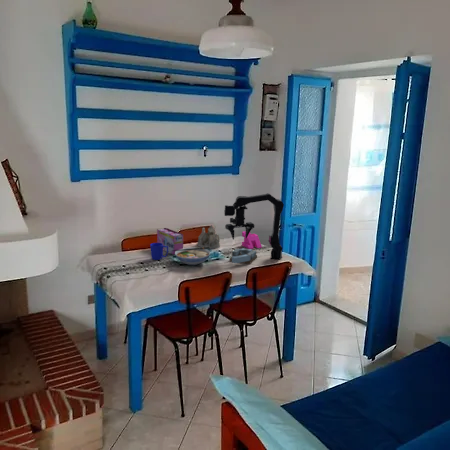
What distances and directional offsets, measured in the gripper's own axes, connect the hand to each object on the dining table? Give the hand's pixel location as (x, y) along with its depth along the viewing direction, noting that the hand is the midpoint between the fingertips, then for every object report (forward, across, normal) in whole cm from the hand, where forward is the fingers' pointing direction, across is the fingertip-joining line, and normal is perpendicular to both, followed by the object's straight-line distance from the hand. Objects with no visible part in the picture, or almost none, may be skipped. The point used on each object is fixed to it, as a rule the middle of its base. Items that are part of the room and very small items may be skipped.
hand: (239, 238), depth 298 cm
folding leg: (+11, +3, +12) cm, 17 cm away
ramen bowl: (+14, +33, 0) cm, 35 cm away
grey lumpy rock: (+14, +9, -36) cm, 40 cm away
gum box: (+14, +39, -34) cm, 53 cm away
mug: (+14, +50, -16) cm, 55 cm away
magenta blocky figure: (+14, -20, -24) cm, 34 cm away
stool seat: (+14, -2, +3) cm, 14 cm away
